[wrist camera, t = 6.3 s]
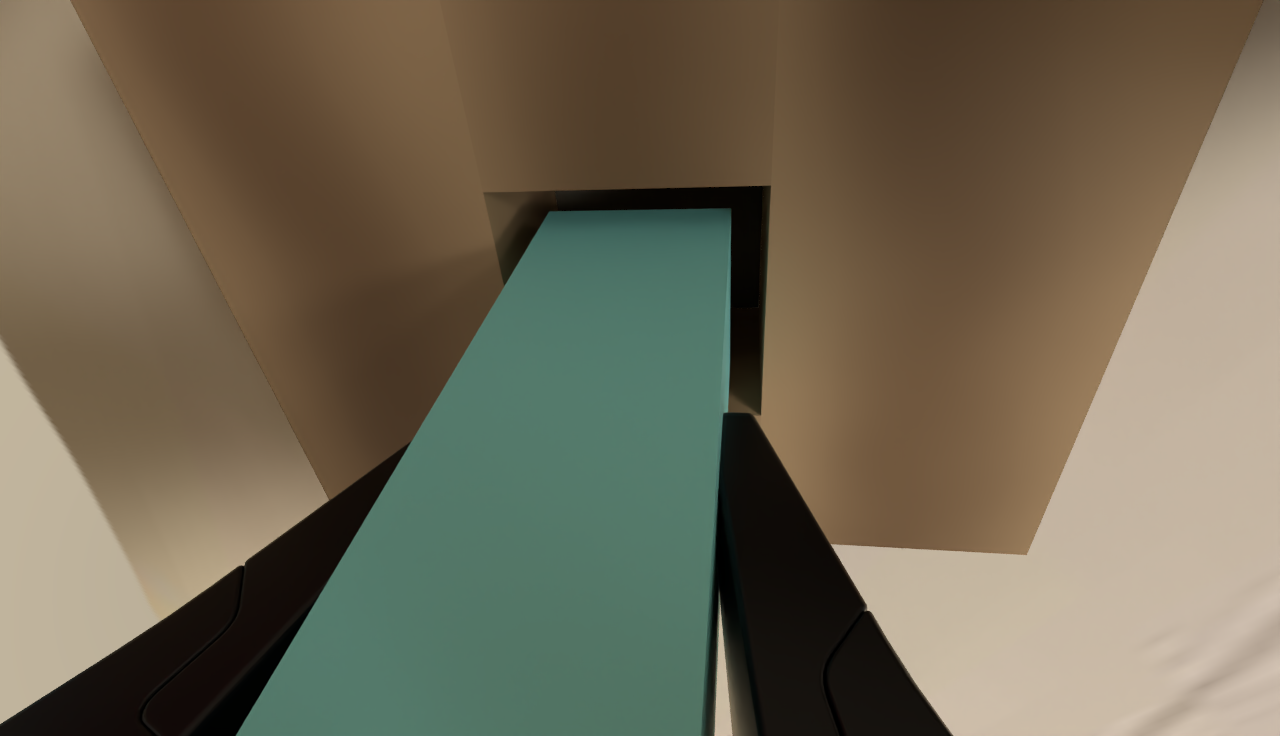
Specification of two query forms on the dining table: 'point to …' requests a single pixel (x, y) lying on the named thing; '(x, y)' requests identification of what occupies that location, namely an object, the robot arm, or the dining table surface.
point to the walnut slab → (700, 157)
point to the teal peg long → (545, 512)
